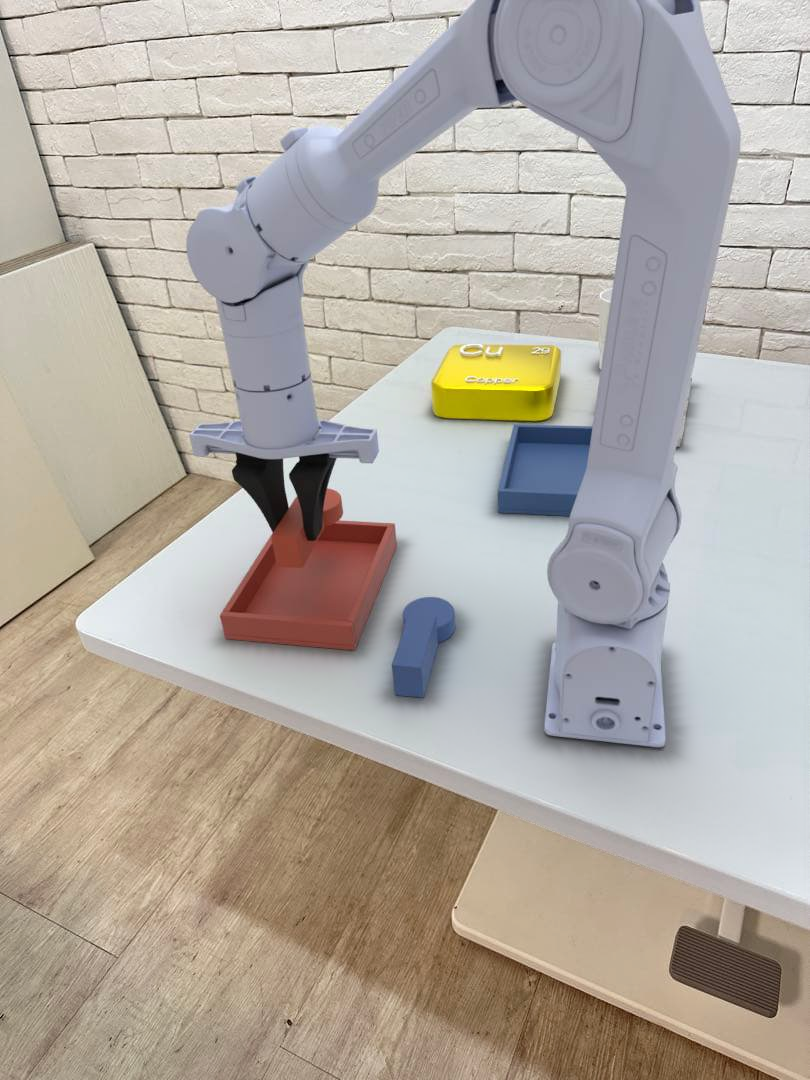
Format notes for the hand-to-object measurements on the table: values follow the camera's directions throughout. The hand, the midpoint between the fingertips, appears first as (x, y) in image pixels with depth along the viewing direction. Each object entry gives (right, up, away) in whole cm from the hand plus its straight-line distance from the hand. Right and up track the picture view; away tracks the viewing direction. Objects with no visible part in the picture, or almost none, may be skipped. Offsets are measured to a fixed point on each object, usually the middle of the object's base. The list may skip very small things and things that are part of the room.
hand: (299, 533), depth 65 cm
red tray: (+1, -5, +6) cm, 7 cm away
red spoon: (+1, 0, +2) cm, 3 cm away
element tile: (+21, +18, +38) cm, 47 cm away
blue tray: (+25, +6, +19) cm, 32 cm away
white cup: (+39, +23, +43) cm, 62 cm away
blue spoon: (+10, -9, -3) cm, 14 cm away
